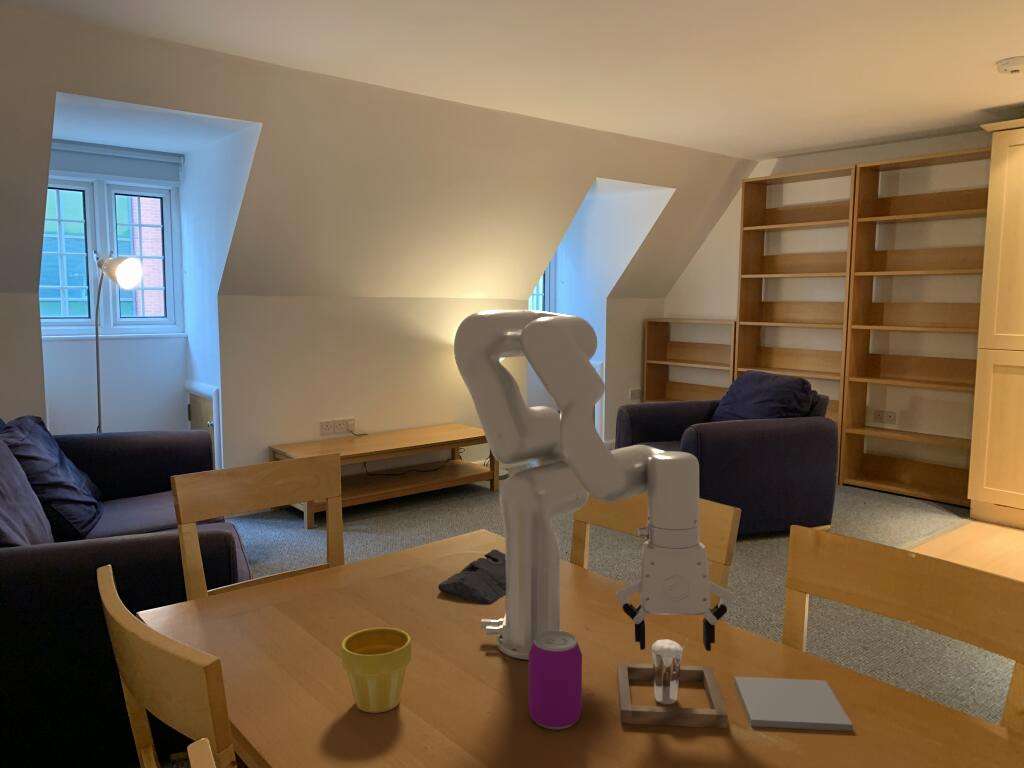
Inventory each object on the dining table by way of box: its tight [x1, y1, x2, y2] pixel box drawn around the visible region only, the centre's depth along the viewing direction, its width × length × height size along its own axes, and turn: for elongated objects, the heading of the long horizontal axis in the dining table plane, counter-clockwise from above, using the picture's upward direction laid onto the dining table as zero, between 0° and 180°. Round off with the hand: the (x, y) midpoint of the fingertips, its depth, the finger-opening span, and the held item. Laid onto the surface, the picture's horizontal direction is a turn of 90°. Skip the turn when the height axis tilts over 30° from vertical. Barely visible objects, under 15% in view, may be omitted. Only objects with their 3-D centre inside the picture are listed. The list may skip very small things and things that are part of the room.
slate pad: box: [734, 676, 854, 732], centre depth 119 cm, size 14×13×1 cm
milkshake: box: [651, 637, 689, 705], centre depth 120 cm, size 4×5×10 cm
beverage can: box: [528, 630, 583, 730], centre depth 115 cm, size 8×8×12 cm
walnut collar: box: [616, 662, 729, 729], centre depth 121 cm, size 15×15×2 cm
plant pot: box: [340, 627, 412, 714], centre depth 119 cm, size 10×10×10 cm
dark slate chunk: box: [438, 549, 506, 605], centre depth 170 cm, size 15×22×5 cm
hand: (674, 646), depth 119 cm, fingers open, 9 cm apart
